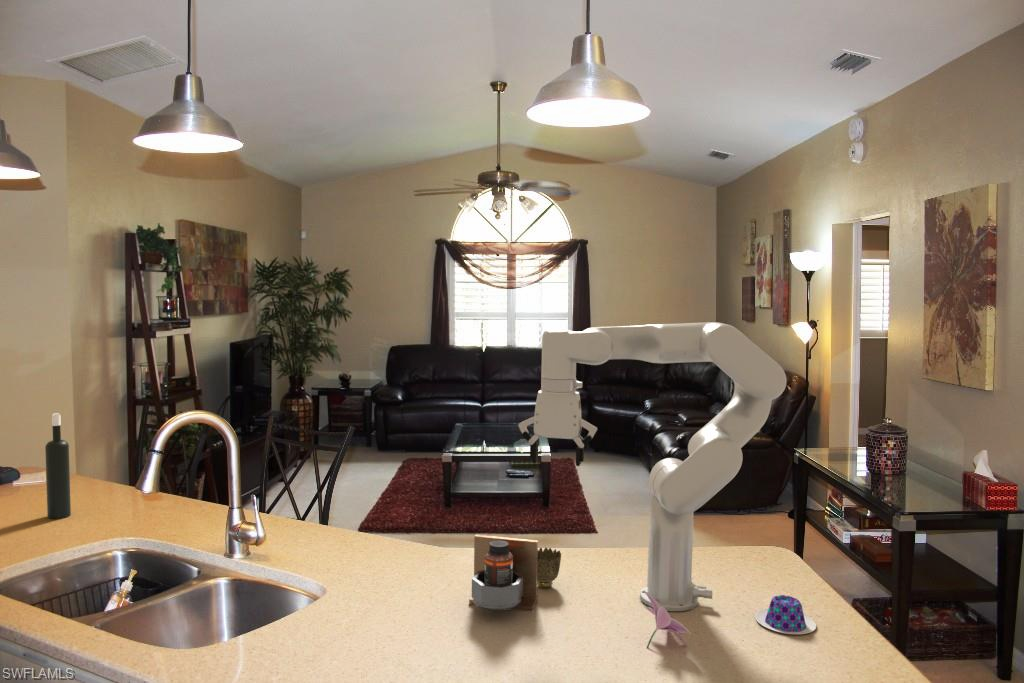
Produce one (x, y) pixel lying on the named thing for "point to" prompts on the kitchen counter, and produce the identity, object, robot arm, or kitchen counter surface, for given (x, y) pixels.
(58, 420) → the wine bottle
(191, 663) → the kitchen counter surface
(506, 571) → the supplement bottle
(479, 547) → the cup bracket
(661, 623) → the lily
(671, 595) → the robot arm
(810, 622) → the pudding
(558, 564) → the cup
